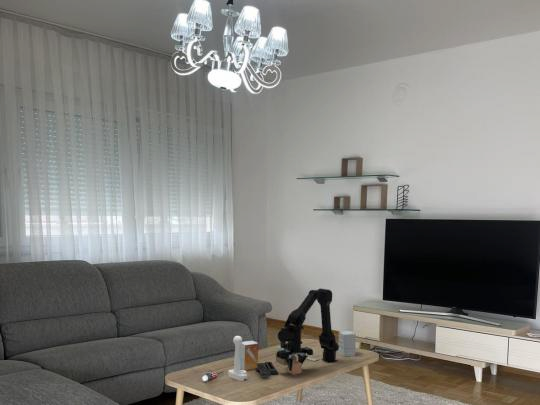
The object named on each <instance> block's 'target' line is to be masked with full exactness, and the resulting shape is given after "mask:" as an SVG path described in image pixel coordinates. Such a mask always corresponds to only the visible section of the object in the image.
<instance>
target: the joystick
mask: <svg viewBox="0 0 540 405" xmlns="http://www.w3.org/2000/svg"><path fill="white" fill-rule="evenodd" d="M232 340H233V341H232V342H233V344H234V346H235V347H234V361H233V368H232V369H228V376H229V377H230V378H232V379H233V380H236V381H240V382H244V381H245V380H248V374H247V373H248V372H247V371H248V370H242V369H240V345H241V343H242V342H243V337H242V336H240V335H235V336H234V337H233V339H232Z"/></svg>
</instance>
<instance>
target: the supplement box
mask: <svg viewBox="0 0 540 405" xmlns="http://www.w3.org/2000/svg"><path fill="white" fill-rule="evenodd" d="M338 345H339V350H337V352H338V354H339V355H340V354H341V355H340V356H342V357H343V356H344V357H343V358H346V356H347V357H355V356H356V333H355V332H353V331H351V330H345V331H343V330H342V331H341V330H340V331H338Z"/></svg>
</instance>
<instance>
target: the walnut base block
mask: <svg viewBox="0 0 540 405" xmlns="http://www.w3.org/2000/svg"><path fill="white" fill-rule="evenodd" d="M291 358H293V361H295V360H297V361H298V356H297V355H295V356H292V357H291ZM275 362H276V363H279V364H280V365H282V366H288V365H287V362H286V360H285V359H281V358H279V357H277V353H276V354H275Z"/></svg>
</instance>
